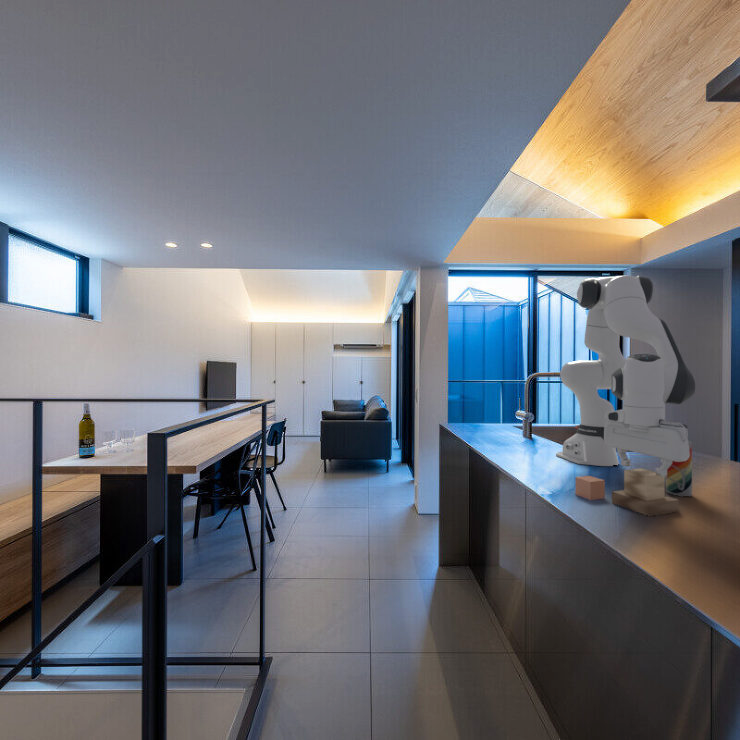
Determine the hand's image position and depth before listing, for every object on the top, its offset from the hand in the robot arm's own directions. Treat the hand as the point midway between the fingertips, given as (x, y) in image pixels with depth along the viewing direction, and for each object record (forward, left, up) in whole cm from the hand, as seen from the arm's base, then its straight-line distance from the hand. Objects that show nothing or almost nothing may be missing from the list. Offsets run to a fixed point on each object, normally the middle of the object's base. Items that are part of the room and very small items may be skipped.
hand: (642, 470), depth 99 cm
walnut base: (+1, 0, -9) cm, 9 cm away
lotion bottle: (-4, +20, -10) cm, 22 cm away
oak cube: (0, 0, -6) cm, 6 cm away
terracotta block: (-10, -6, -9) cm, 15 cm away
